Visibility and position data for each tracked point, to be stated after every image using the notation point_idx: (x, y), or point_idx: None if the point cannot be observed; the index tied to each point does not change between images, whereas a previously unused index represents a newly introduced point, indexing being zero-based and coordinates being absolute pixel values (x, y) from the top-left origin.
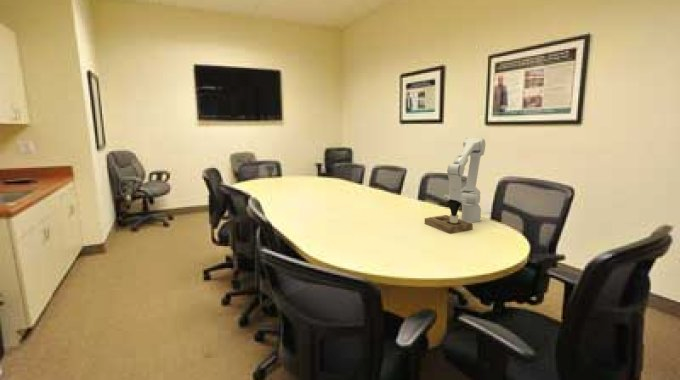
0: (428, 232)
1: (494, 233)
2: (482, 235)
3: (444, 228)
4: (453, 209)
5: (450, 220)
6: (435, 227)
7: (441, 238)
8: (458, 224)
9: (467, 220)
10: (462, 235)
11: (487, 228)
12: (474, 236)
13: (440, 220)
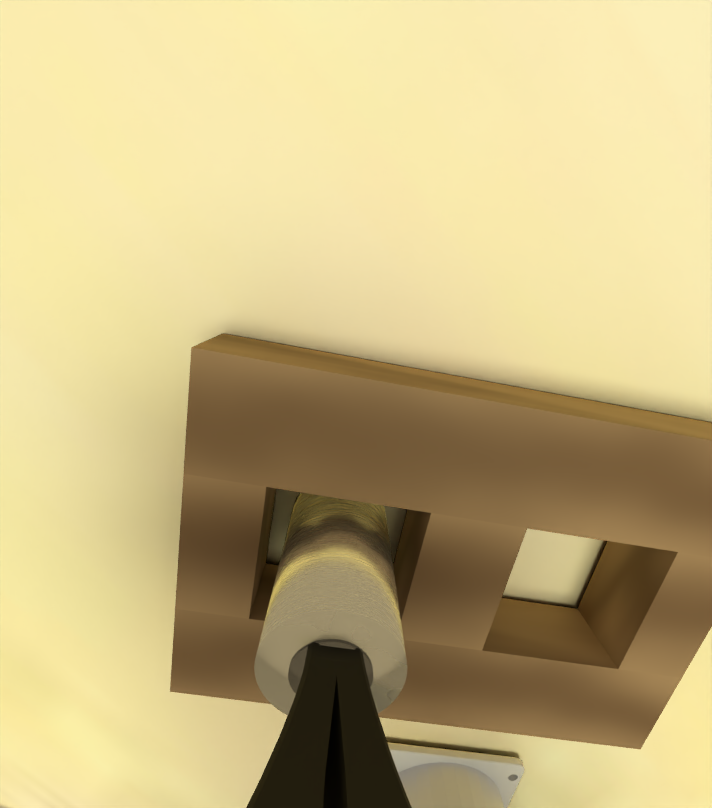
0: (452, 152)
1: (12, 679)
2: (5, 562)
3: (325, 360)
4: (260, 785)
5: (350, 548)
6: (510, 387)
7: (128, 65)
8: (244, 557)
9: (409, 781)
10: (102, 408)
11: (167, 742)
12: (10, 478)
13: (545, 530)
